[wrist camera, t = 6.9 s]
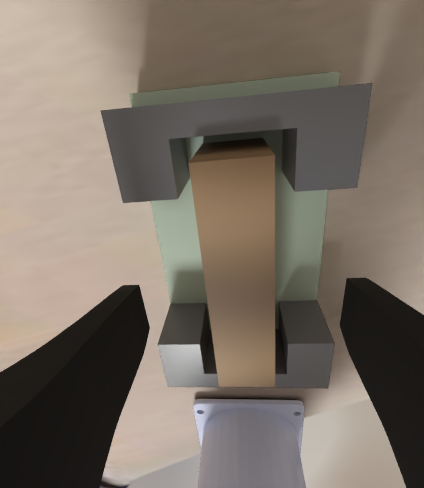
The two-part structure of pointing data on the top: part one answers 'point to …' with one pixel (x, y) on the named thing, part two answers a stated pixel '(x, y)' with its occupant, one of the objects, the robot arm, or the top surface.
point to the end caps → (294, 169)
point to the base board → (286, 203)
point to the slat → (238, 255)
